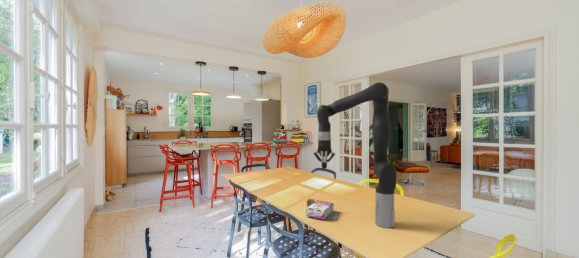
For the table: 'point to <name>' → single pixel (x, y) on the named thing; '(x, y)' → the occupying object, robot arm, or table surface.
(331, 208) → the candy bar box
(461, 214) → the table surface
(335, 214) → the rubber mat
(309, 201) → the walnut block
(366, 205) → the table surface
